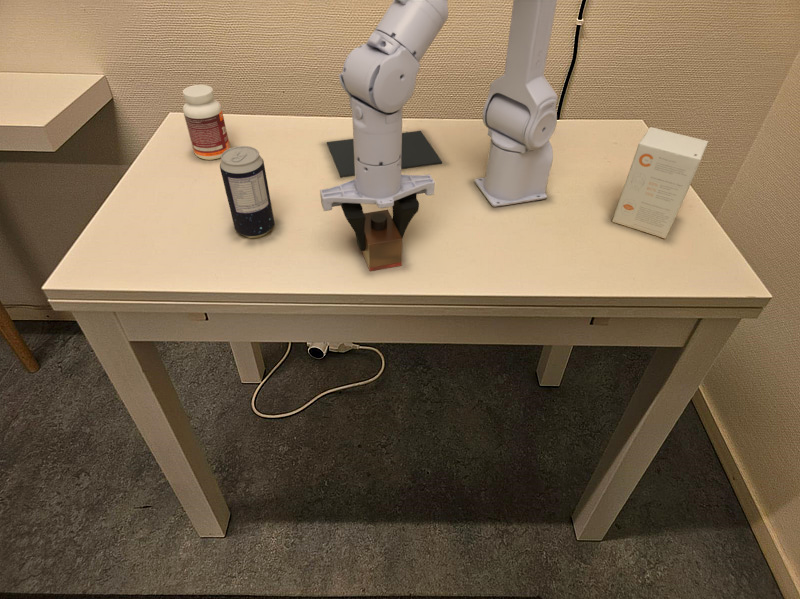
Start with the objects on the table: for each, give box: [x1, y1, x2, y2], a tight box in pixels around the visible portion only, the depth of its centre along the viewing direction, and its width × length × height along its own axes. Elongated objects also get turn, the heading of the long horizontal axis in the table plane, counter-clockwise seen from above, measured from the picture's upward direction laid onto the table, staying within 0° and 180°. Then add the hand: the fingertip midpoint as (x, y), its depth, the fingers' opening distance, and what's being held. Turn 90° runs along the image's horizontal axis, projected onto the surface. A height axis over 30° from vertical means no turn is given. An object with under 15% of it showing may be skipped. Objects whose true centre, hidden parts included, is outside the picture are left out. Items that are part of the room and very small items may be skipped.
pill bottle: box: [182, 84, 231, 161], centre depth 90 cm, size 6×6×11 cm
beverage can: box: [219, 145, 275, 239], centre depth 74 cm, size 6×6×12 cm
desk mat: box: [326, 130, 443, 178], centre depth 95 cm, size 18×12×1 cm, turn 107°
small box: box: [611, 126, 709, 239], centre depth 77 cm, size 8×6×13 cm
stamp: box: [361, 209, 403, 272], centre depth 72 cm, size 4×7×6 cm, turn 17°
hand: (378, 243), depth 73 cm, fingers closed on stamp, 4 cm apart
